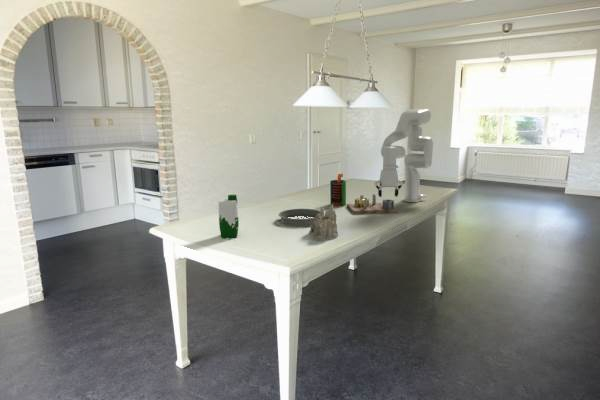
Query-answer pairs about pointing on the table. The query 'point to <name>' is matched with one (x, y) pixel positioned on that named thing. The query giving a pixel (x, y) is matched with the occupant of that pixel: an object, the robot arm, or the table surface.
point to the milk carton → (228, 217)
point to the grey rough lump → (324, 225)
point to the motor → (338, 191)
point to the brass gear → (360, 202)
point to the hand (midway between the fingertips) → (388, 196)
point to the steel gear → (388, 204)
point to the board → (370, 207)
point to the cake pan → (297, 212)
